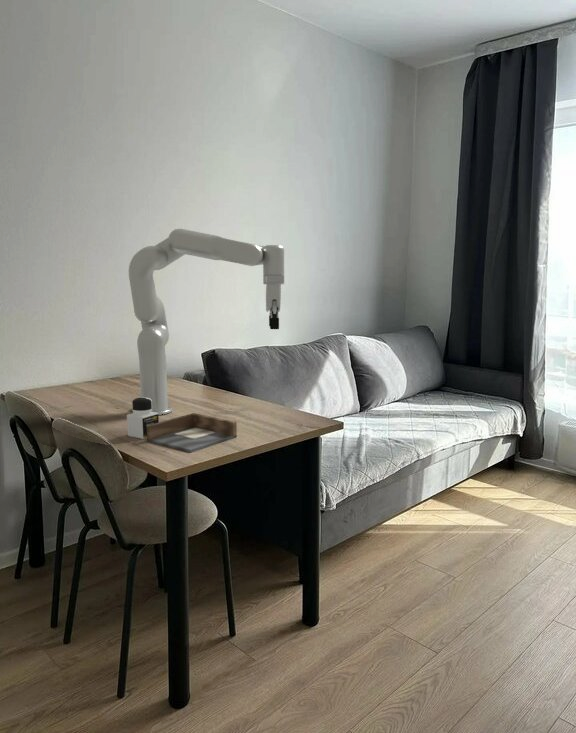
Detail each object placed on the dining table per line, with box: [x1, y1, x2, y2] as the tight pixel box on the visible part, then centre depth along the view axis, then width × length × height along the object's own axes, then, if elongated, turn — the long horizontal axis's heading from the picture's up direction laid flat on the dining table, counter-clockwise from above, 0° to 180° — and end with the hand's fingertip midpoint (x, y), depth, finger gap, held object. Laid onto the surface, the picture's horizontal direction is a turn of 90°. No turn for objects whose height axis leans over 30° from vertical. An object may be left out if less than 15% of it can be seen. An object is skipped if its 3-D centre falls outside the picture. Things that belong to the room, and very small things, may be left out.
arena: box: [146, 412, 238, 453], centre depth 195 cm, size 19×20×5 cm
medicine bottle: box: [126, 397, 160, 440], centre depth 199 cm, size 7×7×12 cm
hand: (273, 327), depth 227 cm, fingers open, 9 cm apart
